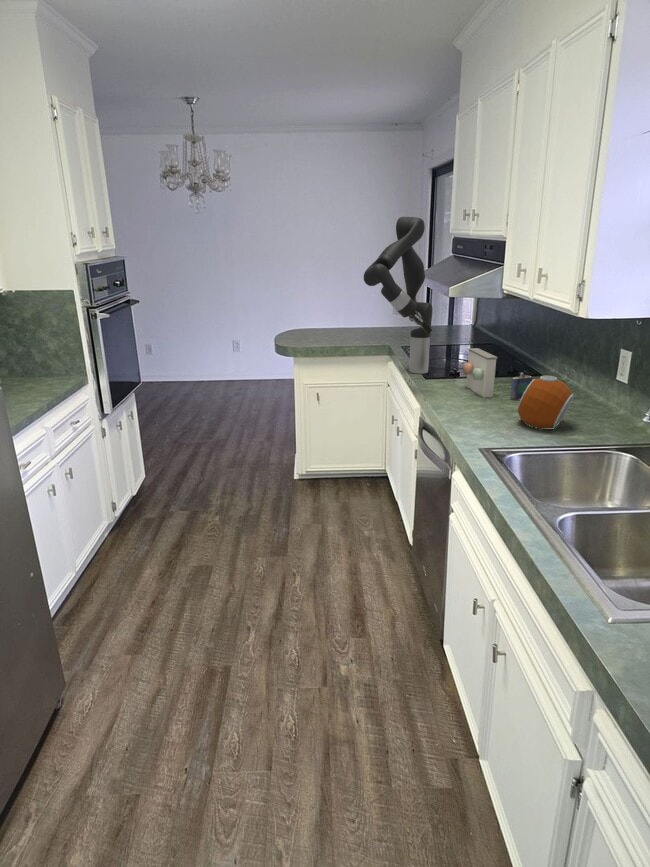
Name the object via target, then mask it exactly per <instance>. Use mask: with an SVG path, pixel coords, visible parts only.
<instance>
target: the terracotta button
mask: <svg viewBox="0 0 650 867" xmlns="http://www.w3.org/2000/svg"><path fill="white" fill-rule="evenodd" d="M472 372H473V365H472V363H468V362H464V363H463V365H462V373H463V375H466V376H467V374H472Z"/></svg>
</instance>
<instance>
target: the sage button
mask: <svg viewBox="0 0 650 867" xmlns="http://www.w3.org/2000/svg"><path fill="white" fill-rule="evenodd" d="M472 376H473V379H474V380H482V378H483V370H482V368H474V369H473V372H472Z"/></svg>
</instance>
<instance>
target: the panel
mask: <svg viewBox="0 0 650 867" xmlns="http://www.w3.org/2000/svg"><path fill="white" fill-rule="evenodd" d="M467 350H468V360H467V361H468V362H467V363H472V365H473V369H474V368H482V370H483V378H482V380H474V379H473V376H472V374H467V375H466V384H465V385H466V387H467V388H469V389H470V390H471V391H473V392H475V393H476V394H478V395H479V396H481V397H482V398H493V397H494V387H495V377H496V366H497V365H496V364H497V360H498V356H496V355H494V354H492V353H489V352H487V351H485V350H482V349H480V348H478V347H477V348H476V347H474V348H472V347H471V348H470V347H469V348H468V349H467Z"/></svg>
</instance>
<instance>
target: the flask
mask: <svg viewBox="0 0 650 867" xmlns="http://www.w3.org/2000/svg"><path fill="white" fill-rule="evenodd" d="M519 374H520V375H519V376H515V377H511V385H510V386H511V388H510V396H509V398H510V400H512V399H513V400H514V399H517V400H520V399H519V398H521V397H522V395H523V393H524V392H525V390H526V388H527V387H528V385H529V384H530V382H531V381H532V380H533V377H532V376H531V375H528V374H527V375H526V374H525V375H524V372H520V373H519Z"/></svg>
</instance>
